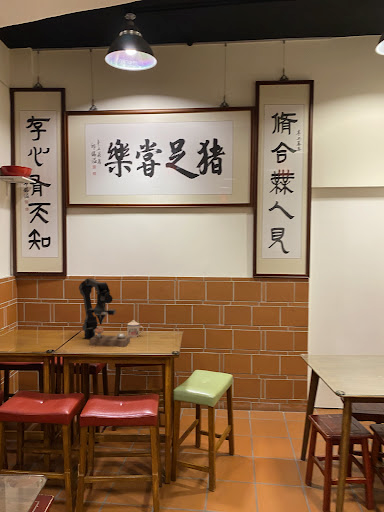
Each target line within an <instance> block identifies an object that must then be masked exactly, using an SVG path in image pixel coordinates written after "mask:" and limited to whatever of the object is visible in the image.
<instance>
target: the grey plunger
mask: <svg viewBox="0 0 384 512" xmlns="http://www.w3.org/2000/svg"><path fill="white" fill-rule="evenodd" d="M116 336H117V338H118V339H124V338H125V336H126V334H125V333H121V332H120V333H117V334H116Z"/></svg>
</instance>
